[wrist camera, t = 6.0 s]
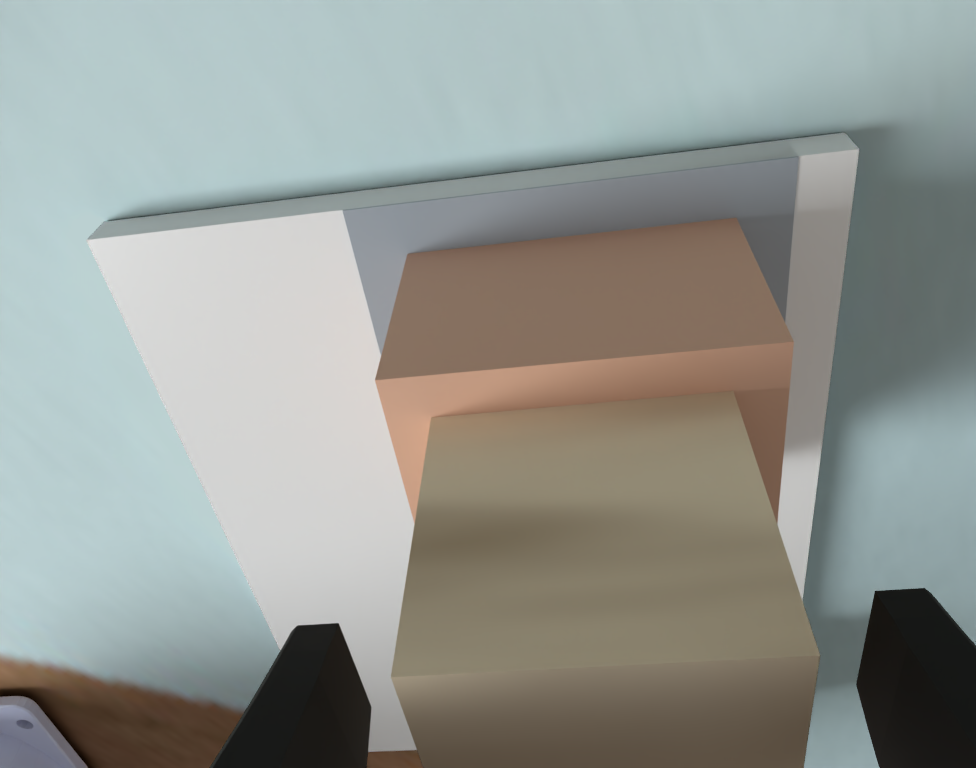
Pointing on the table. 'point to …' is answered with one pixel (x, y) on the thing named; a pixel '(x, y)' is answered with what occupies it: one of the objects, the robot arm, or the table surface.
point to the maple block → (602, 594)
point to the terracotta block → (586, 333)
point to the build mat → (361, 336)
